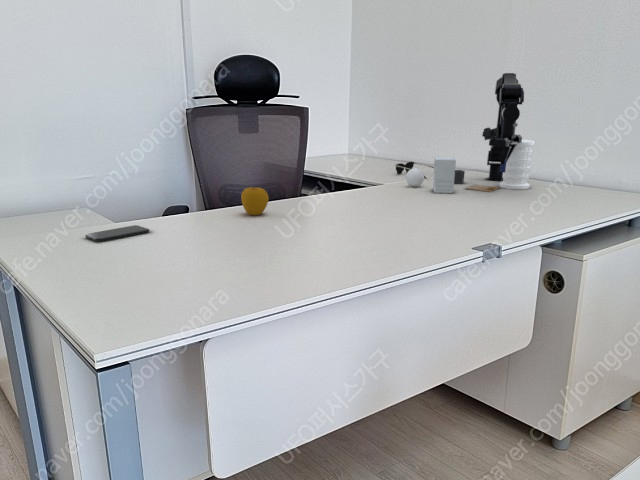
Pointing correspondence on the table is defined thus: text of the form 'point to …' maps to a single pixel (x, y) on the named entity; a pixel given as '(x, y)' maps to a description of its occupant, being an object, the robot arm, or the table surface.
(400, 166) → the sunglasses
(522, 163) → the decorative container
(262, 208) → the apple
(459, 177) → the pen cup
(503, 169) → the marker
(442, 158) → the white packaging box
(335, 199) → the table surface
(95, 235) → the smartphone
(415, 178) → the white ball
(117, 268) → the table surface
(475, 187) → the sketch board
